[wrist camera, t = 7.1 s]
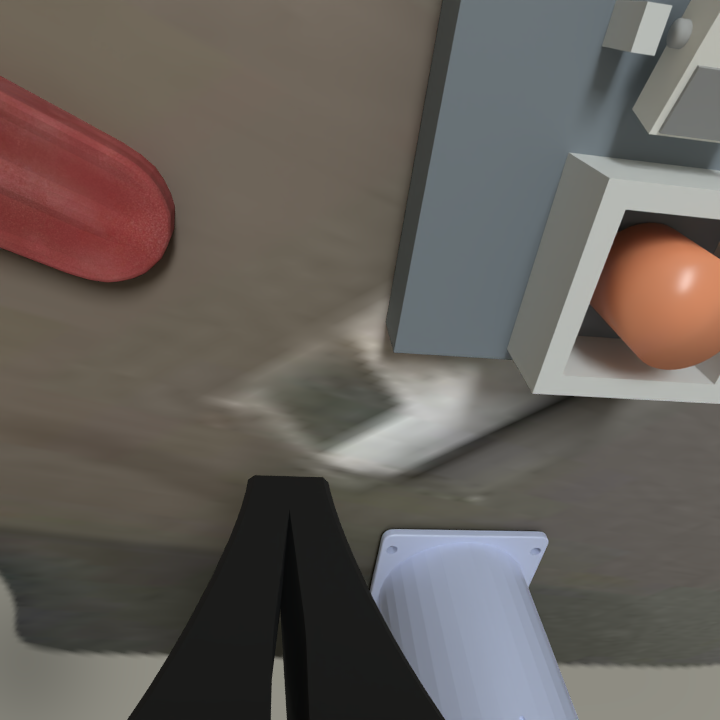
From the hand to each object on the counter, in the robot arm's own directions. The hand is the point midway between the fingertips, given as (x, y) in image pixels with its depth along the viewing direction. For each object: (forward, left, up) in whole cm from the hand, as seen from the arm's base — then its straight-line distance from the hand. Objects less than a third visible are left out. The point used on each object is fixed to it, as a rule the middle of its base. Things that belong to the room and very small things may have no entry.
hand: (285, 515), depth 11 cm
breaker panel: (+5, -9, -10) cm, 15 cm away
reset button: (+2, -11, -8) cm, 13 cm away
